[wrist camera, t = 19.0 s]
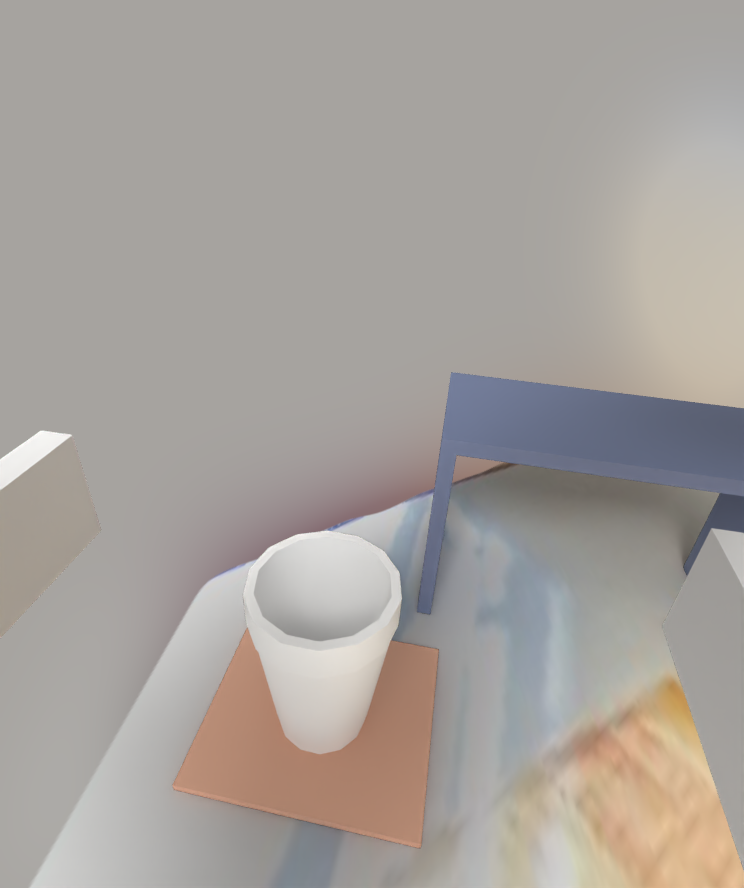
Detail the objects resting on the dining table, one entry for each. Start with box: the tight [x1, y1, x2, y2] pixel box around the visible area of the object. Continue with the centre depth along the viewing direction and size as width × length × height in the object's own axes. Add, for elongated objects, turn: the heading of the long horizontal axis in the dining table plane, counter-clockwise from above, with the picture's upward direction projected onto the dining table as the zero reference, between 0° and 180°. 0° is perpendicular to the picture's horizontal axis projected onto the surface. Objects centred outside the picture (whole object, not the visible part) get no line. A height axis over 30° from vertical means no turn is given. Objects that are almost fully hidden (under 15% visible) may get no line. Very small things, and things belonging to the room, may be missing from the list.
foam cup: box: [243, 531, 402, 754], centre depth 35 cm, size 10×9×13 cm
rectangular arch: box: [417, 373, 744, 614], centre depth 46 cm, size 27×12×18 cm, turn 80°
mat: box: [173, 627, 439, 848], centre depth 39 cm, size 16×14×1 cm
